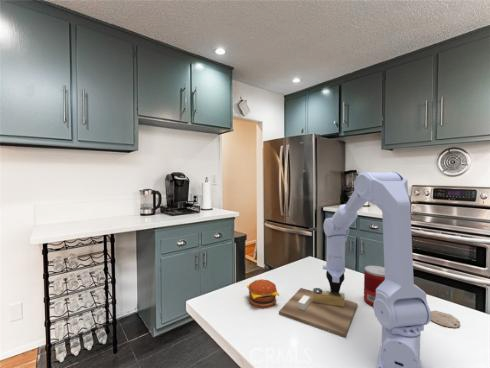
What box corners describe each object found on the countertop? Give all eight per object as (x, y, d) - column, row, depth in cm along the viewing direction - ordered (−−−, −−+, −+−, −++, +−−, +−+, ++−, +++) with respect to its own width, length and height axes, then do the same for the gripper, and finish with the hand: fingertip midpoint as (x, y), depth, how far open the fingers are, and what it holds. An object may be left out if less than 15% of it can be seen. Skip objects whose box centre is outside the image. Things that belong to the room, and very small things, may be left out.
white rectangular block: (304, 310, 75) (304, 303, 75) (298, 308, 76) (298, 301, 76) (309, 303, 79) (309, 296, 79) (303, 301, 80) (303, 295, 80)
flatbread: (455, 332, 66) (455, 329, 66) (422, 319, 73) (422, 315, 73) (464, 321, 71) (464, 318, 71) (432, 309, 77) (432, 306, 77)
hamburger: (281, 306, 79) (281, 286, 79) (252, 311, 77) (252, 290, 76) (270, 292, 88) (270, 274, 88) (244, 296, 86) (244, 277, 86)
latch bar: (312, 302, 79) (312, 291, 79) (313, 297, 82) (313, 287, 82) (344, 307, 76) (344, 296, 76) (343, 302, 79) (344, 291, 79)
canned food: (395, 310, 77) (396, 275, 76) (367, 307, 78) (368, 273, 78) (386, 298, 84) (387, 266, 84) (361, 295, 86) (361, 264, 85)
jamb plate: (345, 337, 64) (345, 333, 64) (278, 314, 75) (278, 311, 75) (357, 306, 79) (357, 303, 79) (300, 290, 90) (300, 287, 90)
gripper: (323, 247, 90) (322, 283, 91) (322, 260, 76) (321, 303, 77) (344, 249, 88) (343, 286, 88) (347, 263, 74) (346, 307, 75)
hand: (334, 294), depth 83 cm, fingers closed
